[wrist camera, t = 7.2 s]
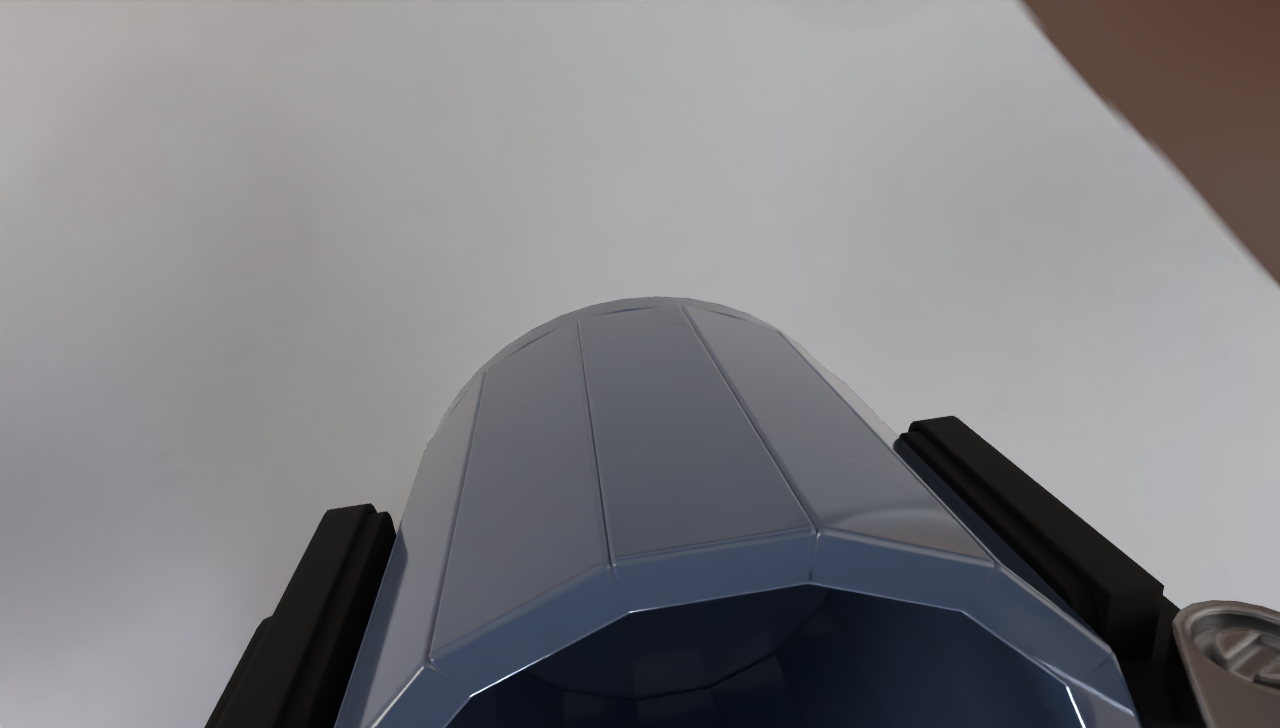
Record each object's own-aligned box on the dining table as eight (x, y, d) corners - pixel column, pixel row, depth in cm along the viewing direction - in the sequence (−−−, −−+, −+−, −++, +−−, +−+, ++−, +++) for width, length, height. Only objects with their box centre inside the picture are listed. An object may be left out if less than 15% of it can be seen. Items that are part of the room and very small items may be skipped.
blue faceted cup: (326, 562, 11) (112, 1031, 6) (611, 193, 10) (697, 334, 4) (676, 749, 13) (771, 1226, 8) (951, 465, 12) (1306, 797, 6)
